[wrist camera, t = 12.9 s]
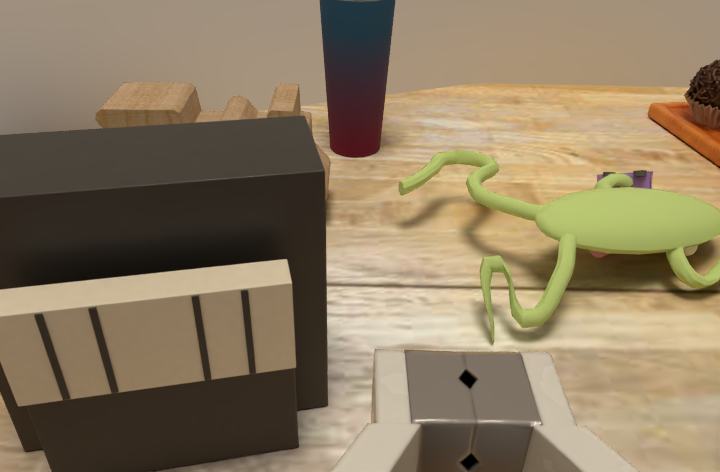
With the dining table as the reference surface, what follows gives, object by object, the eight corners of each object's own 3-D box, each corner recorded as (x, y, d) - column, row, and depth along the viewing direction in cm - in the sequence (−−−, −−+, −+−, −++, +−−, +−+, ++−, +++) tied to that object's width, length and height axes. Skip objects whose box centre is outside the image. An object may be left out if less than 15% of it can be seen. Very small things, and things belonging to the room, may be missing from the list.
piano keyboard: (296, 369, 29) (292, 283, 27) (17, 408, 27) (-19, 319, 24) (291, 342, 31) (287, 258, 28) (26, 376, 29) (-6, 289, 26)
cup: (332, 128, 68) (332, -19, 60) (395, 137, 67) (403, -14, 58) (312, 156, 63) (308, -3, 54) (379, 165, 61) (386, 3, 53)
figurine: (387, 203, 55) (390, 144, 52) (670, 184, 59) (688, 128, 56) (444, 351, 40) (453, 280, 37) (820, 313, 44) (856, 246, 41)
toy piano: (336, 441, 34) (335, 198, 26) (13, 494, 31) (-104, 238, 23) (311, 332, 41) (305, 114, 33) (47, 366, 38) (-33, 136, 30)
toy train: (327, 227, 52) (326, 111, 46) (118, 223, 52) (92, 106, 46) (330, 193, 56) (330, 84, 51) (138, 189, 56) (117, 80, 51)
